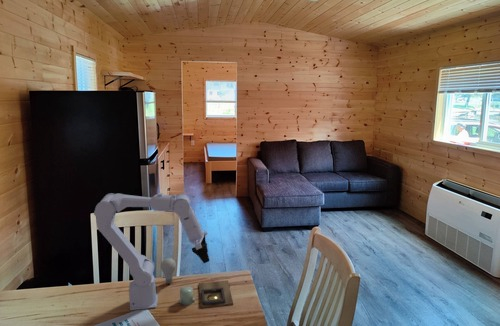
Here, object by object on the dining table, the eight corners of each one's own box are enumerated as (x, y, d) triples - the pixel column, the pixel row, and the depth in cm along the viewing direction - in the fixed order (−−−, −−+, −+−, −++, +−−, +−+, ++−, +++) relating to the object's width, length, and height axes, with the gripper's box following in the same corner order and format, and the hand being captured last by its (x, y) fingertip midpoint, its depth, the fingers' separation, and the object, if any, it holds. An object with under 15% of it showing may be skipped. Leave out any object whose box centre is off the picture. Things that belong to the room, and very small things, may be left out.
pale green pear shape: (178, 306, 134) (178, 294, 133) (179, 298, 138) (178, 287, 137) (195, 304, 135) (194, 292, 134) (194, 297, 140) (194, 285, 138)
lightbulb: (168, 289, 145) (167, 264, 142) (158, 284, 148) (157, 259, 146) (179, 282, 149) (178, 258, 147) (170, 277, 153) (168, 254, 151)
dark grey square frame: (202, 305, 134) (202, 302, 133) (201, 292, 142) (201, 289, 141) (225, 302, 135) (225, 299, 135) (222, 290, 143) (222, 287, 143)
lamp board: (200, 308, 133) (200, 306, 133) (198, 284, 148) (198, 283, 148) (233, 304, 135) (233, 303, 135) (227, 281, 150) (227, 280, 150)
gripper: (202, 228, 124) (217, 261, 128) (200, 214, 138) (214, 244, 142) (183, 237, 124) (199, 269, 127) (183, 222, 138) (197, 252, 141)
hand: (206, 257), depth 134 cm, fingers open, 7 cm apart
